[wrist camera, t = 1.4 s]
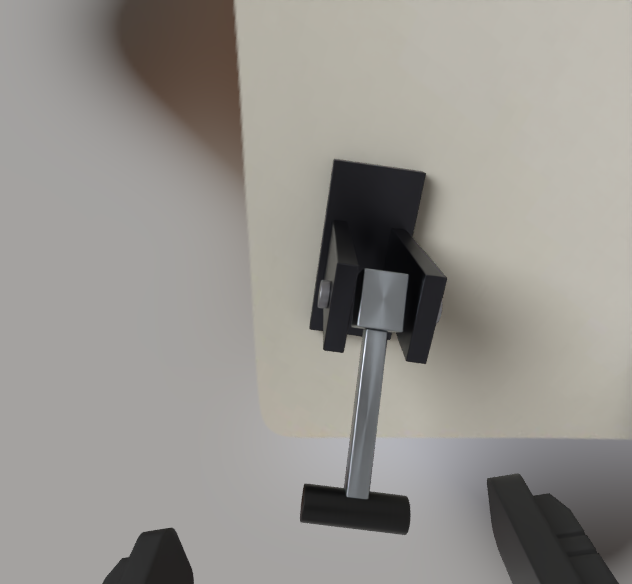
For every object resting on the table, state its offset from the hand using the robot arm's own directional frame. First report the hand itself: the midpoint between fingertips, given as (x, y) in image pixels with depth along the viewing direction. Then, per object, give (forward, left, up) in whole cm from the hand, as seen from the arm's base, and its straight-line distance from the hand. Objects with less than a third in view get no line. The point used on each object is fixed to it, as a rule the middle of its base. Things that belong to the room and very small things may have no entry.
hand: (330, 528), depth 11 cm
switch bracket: (+2, +2, -22) cm, 22 cm away
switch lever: (+2, -3, -11) cm, 12 cm away
